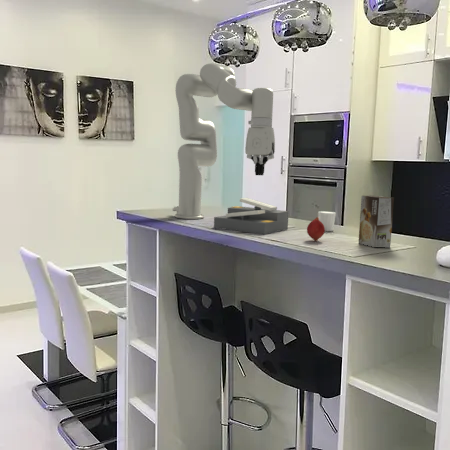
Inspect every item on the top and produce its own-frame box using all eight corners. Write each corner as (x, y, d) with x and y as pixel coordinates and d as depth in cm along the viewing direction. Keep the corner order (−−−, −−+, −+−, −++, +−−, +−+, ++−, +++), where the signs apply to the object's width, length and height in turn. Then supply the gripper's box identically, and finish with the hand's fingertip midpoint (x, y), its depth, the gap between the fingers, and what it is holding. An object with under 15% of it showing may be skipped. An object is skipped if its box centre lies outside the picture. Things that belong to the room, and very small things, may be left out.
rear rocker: (239, 201, 197) (240, 198, 197) (246, 200, 201) (246, 197, 201) (270, 210, 190) (271, 207, 190) (276, 209, 194) (277, 206, 194)
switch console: (213, 227, 192) (214, 205, 190) (239, 223, 206) (240, 203, 205) (264, 234, 179) (265, 211, 178) (287, 229, 194) (288, 208, 193)
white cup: (333, 229, 200) (334, 211, 199) (335, 231, 194) (337, 213, 193) (316, 228, 201) (317, 210, 200) (317, 230, 194) (318, 212, 193)
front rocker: (226, 217, 190) (225, 213, 190) (233, 216, 195) (233, 212, 194) (258, 214, 182) (257, 210, 182) (265, 213, 187) (264, 209, 187)
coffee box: (391, 247, 162) (395, 197, 160) (375, 248, 159) (379, 197, 157) (372, 242, 170) (376, 195, 168) (357, 243, 168) (360, 195, 166)
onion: (304, 241, 168) (306, 217, 167) (308, 238, 174) (309, 215, 172) (322, 242, 166) (324, 218, 165) (325, 240, 172) (326, 216, 170)
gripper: (238, 123, 182) (236, 174, 185) (274, 122, 174) (272, 176, 176) (249, 124, 188) (247, 174, 191) (284, 124, 180) (282, 176, 183)
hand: (259, 175), depth 184 cm, fingers closed
